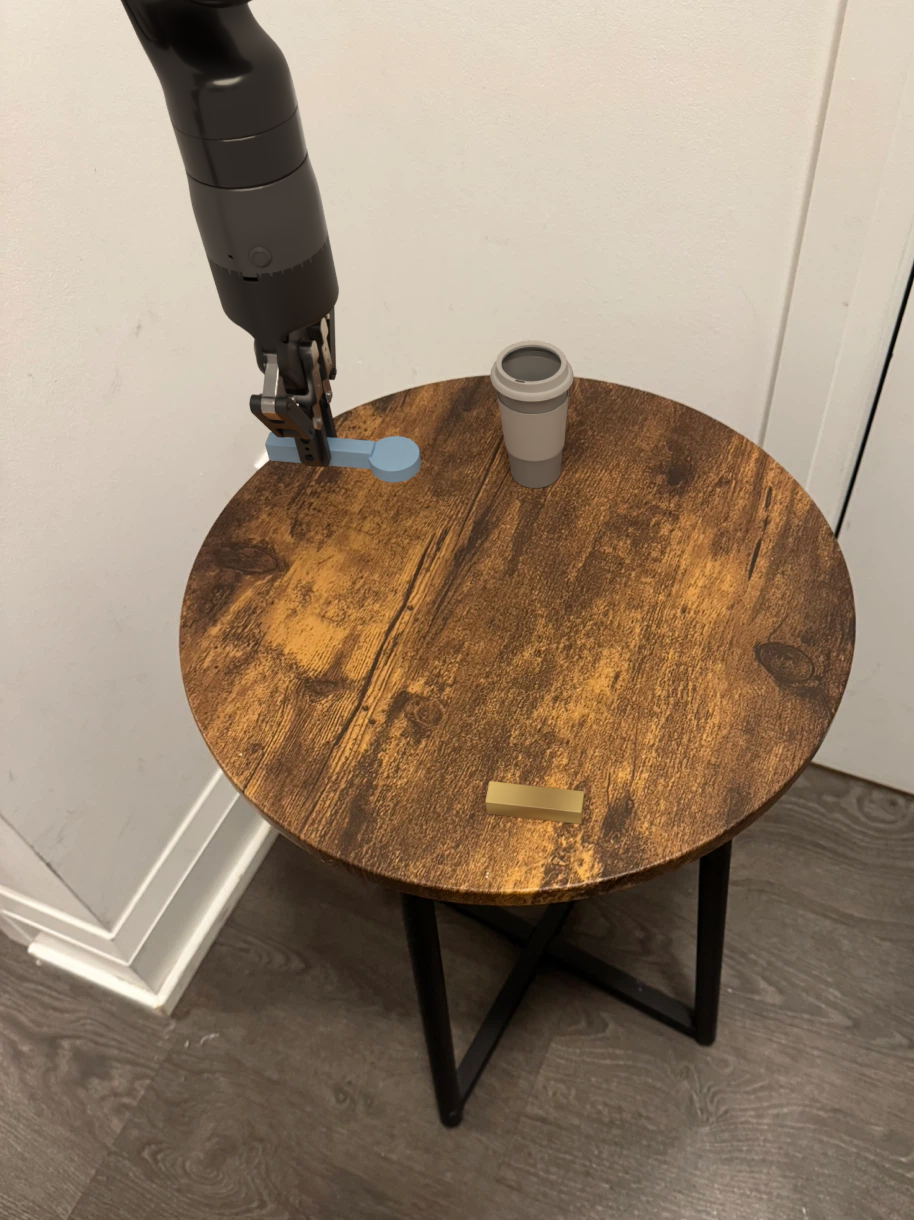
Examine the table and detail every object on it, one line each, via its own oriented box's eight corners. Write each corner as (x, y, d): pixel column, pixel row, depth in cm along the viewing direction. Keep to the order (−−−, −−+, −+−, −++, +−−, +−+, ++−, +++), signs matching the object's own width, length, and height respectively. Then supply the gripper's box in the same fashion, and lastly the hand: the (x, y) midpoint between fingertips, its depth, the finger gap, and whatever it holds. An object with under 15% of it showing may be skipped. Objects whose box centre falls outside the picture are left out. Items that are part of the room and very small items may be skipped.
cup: (487, 486, 96) (476, 377, 86) (513, 440, 99) (506, 330, 89) (559, 503, 94) (557, 395, 84) (583, 456, 97) (584, 346, 88)
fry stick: (486, 814, 76) (485, 801, 75) (490, 793, 77) (489, 780, 76) (581, 824, 75) (581, 812, 74) (584, 803, 76) (584, 791, 75)
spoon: (264, 471, 77) (259, 455, 76) (278, 437, 79) (273, 420, 78) (415, 485, 76) (413, 468, 75) (425, 450, 78) (423, 433, 77)
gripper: (237, 171, 67) (295, 393, 81) (169, 295, 60) (245, 515, 74) (350, 177, 67) (388, 399, 81) (296, 302, 59) (348, 523, 73)
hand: (320, 454), depth 77 cm, fingers closed on spoon, 1 cm apart
